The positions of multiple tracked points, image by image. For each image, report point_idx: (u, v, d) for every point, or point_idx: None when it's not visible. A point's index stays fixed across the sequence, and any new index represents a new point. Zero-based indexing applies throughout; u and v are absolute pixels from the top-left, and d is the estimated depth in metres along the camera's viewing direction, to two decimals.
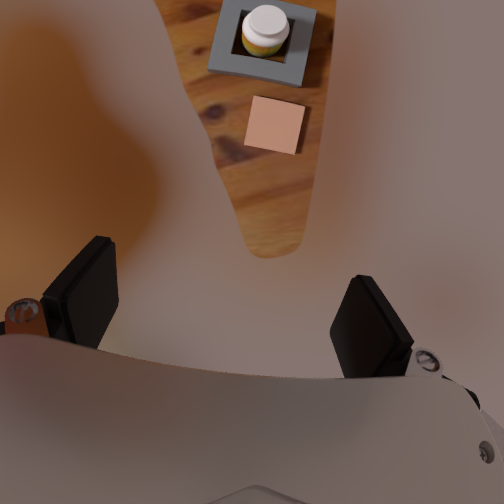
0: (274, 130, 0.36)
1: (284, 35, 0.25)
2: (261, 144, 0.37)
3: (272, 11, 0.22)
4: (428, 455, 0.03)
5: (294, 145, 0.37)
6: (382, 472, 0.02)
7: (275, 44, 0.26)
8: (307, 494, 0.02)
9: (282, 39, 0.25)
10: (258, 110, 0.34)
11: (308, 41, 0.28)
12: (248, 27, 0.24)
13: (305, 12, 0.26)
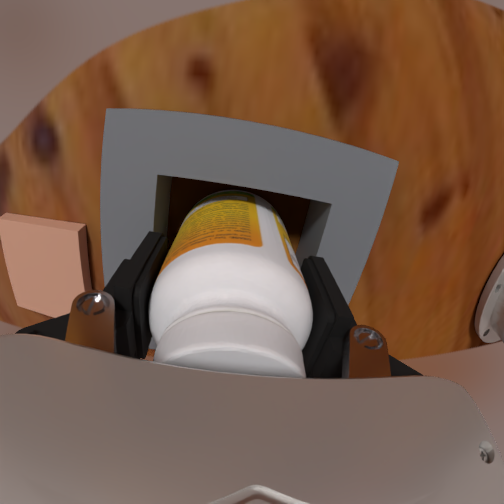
0: (32, 274, 0.14)
1: None
2: (7, 250, 0.13)
3: None
4: (428, 455, 0.03)
5: (27, 306, 0.16)
6: (382, 472, 0.02)
7: None
8: (307, 494, 0.02)
9: None
10: (52, 243, 0.13)
11: None
12: (208, 286, 0.07)
13: None
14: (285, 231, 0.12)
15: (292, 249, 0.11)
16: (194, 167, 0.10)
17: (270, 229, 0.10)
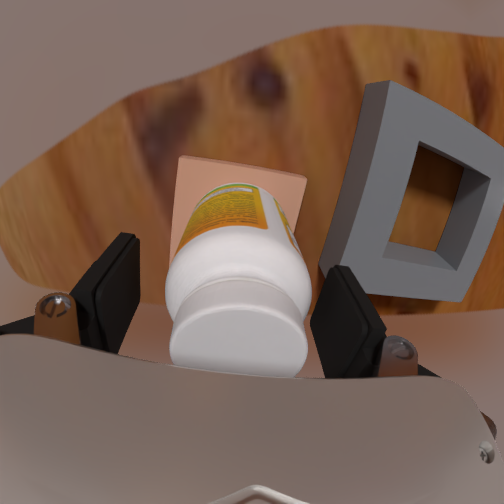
0: None
1: None
2: (183, 198, 0.15)
3: (273, 368, 0.08)
4: (428, 455, 0.03)
5: None
6: (382, 472, 0.03)
7: None
8: (307, 494, 0.02)
9: None
10: (268, 189, 0.15)
11: (416, 295, 0.17)
12: (222, 261, 0.09)
13: (462, 286, 0.17)
14: (286, 220, 0.13)
15: (293, 235, 0.12)
16: (439, 141, 0.12)
17: (274, 216, 0.11)
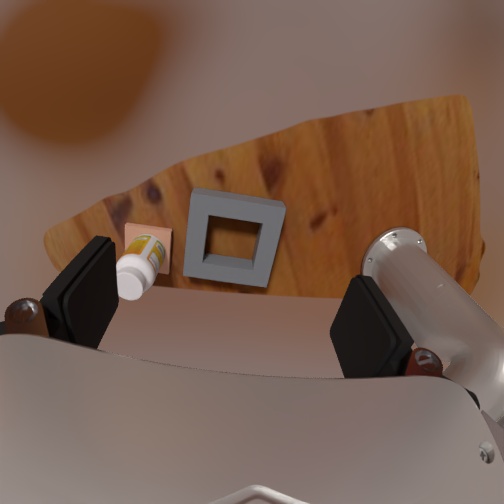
0: None
1: None
2: (128, 239, 0.39)
3: (135, 290, 0.31)
4: (428, 455, 0.03)
5: None
6: (382, 472, 0.02)
7: None
8: (307, 493, 0.02)
9: None
10: (157, 236, 0.39)
11: (229, 280, 0.40)
12: (126, 263, 0.32)
13: (262, 278, 0.40)
14: (157, 249, 0.37)
15: (155, 255, 0.36)
16: (220, 213, 0.36)
17: (147, 249, 0.35)
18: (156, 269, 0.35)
